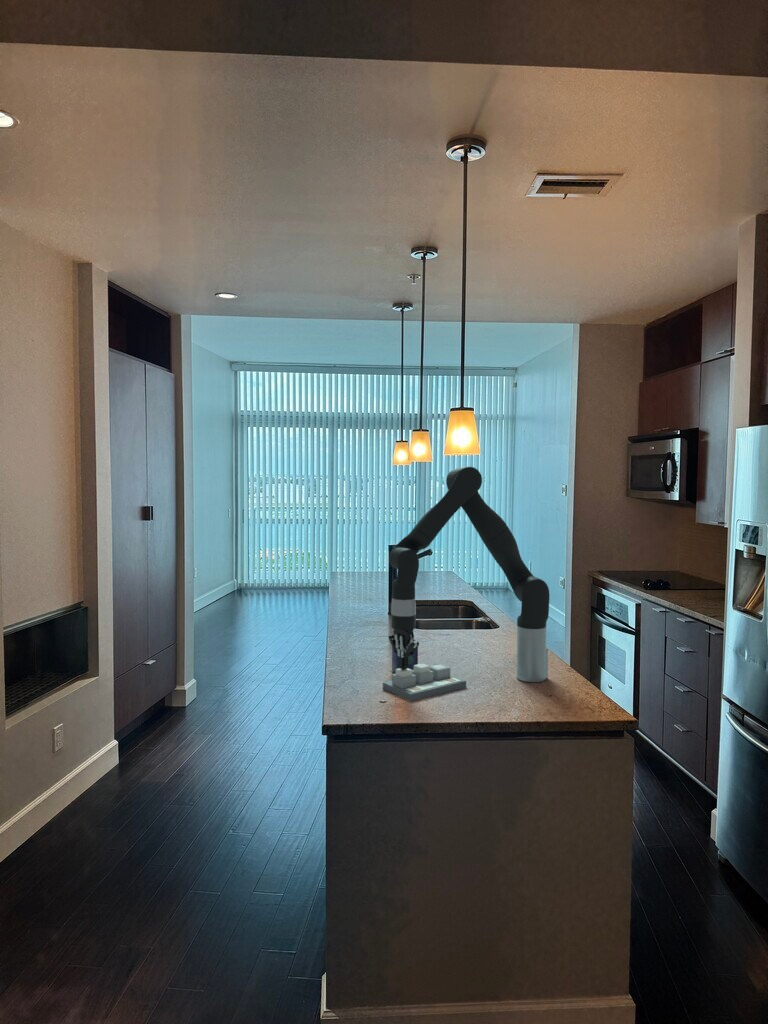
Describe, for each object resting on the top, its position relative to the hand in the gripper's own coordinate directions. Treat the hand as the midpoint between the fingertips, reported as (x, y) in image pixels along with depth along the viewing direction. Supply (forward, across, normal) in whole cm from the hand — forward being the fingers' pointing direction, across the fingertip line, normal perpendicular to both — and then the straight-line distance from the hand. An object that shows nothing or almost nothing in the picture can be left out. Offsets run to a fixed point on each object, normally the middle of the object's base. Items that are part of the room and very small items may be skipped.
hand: (403, 668), depth 206 cm
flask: (+7, +16, -13) cm, 22 cm away
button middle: (+3, 0, -7) cm, 8 cm away
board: (+7, -2, -7) cm, 10 cm away
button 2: (+5, 0, -14) cm, 15 cm away
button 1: (+3, 0, 0) cm, 3 cm away
